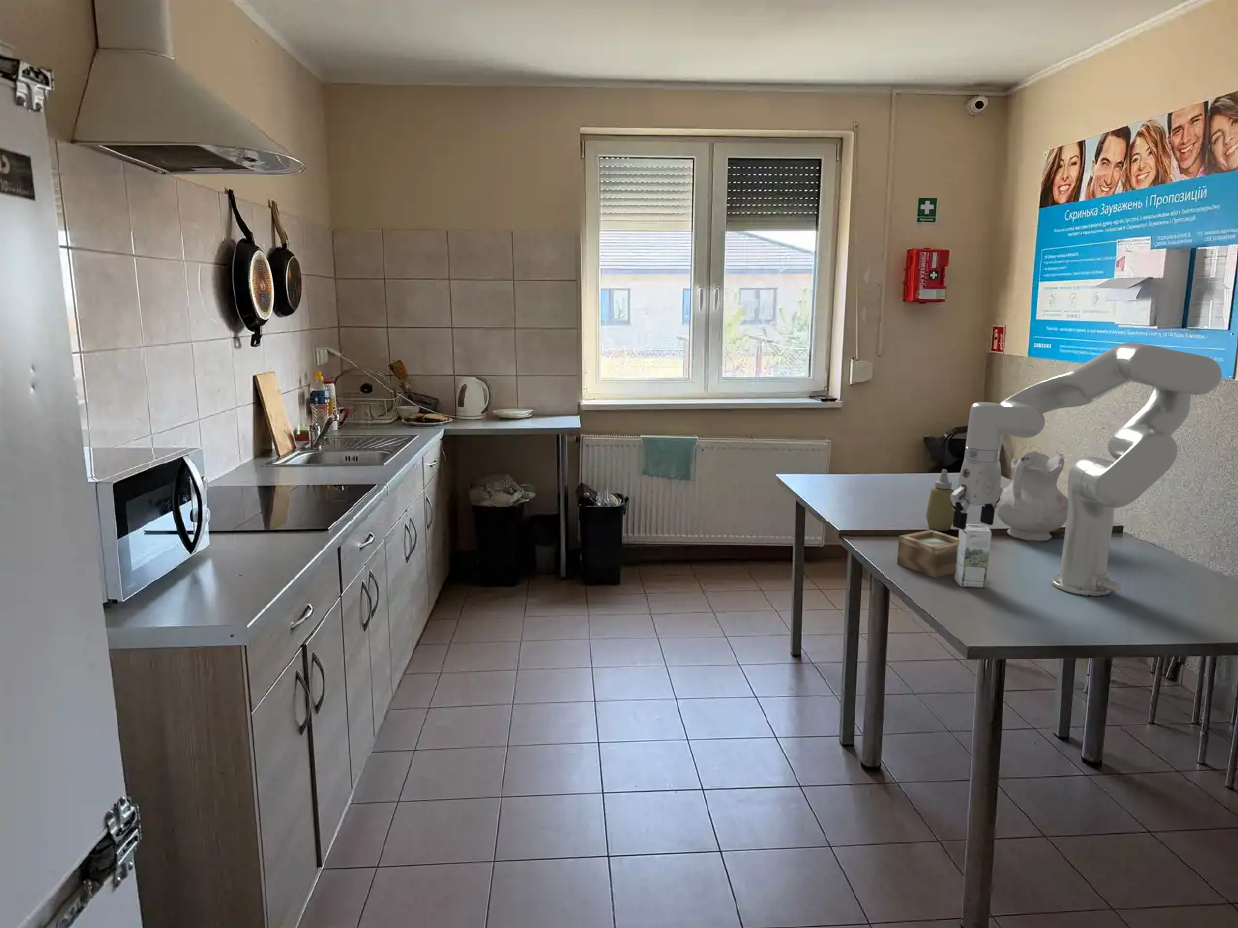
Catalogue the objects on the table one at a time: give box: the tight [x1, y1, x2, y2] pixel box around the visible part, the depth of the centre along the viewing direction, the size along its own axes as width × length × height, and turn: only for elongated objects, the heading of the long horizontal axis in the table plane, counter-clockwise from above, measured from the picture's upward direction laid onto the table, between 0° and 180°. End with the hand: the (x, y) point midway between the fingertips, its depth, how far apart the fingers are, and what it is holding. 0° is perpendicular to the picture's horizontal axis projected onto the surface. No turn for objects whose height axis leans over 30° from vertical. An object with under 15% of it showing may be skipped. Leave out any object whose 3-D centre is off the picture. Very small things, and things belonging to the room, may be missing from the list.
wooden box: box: [896, 529, 958, 578], centre depth 210 cm, size 12×12×8 cm
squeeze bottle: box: [925, 468, 955, 532], centre depth 242 cm, size 8×8×18 cm
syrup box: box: [953, 523, 992, 589], centre depth 197 cm, size 6×6×14 cm
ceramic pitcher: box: [995, 450, 1068, 542], centre depth 235 cm, size 22×20×25 cm
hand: (972, 525), depth 195 cm, fingers open, 9 cm apart
